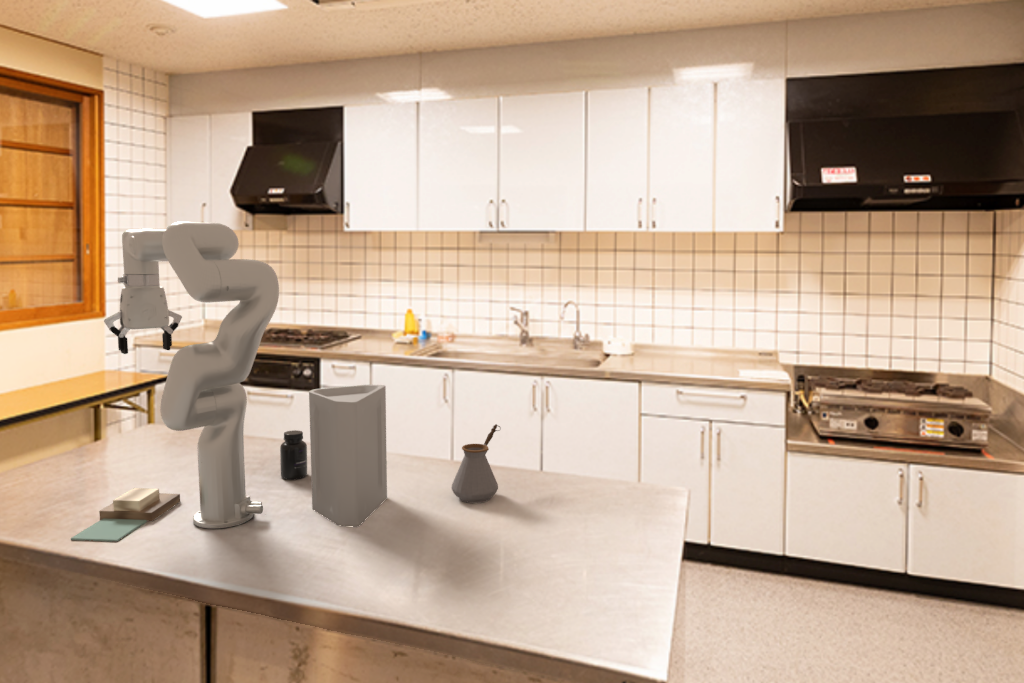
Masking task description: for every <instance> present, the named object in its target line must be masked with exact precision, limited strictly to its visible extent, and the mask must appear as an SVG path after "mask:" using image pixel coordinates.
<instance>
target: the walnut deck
mask: <svg viewBox="0 0 1024 683" xmlns="http://www.w3.org/2000/svg"><path fill="white" fill-rule="evenodd" d="M159 498H160V499H158V500H157V501H155V502H154V503H152V504H151V505H149V506H147V507H146V508H144V509H143V510H141V511H114V507H113V502H112V503H111V504H109V505H107V506H106V507H103V508H102V509H100V510H99V511H98V512H99V521H100V520H102V519H103V518H105V519H133V520H147V522H153V521H154V520H156V519H158V518H159V517H161V516H162V515H164V514H165V513H166V512H168V511H170V510H171V509H172V508H174V507H175V506H177V505H178V504H179V502H180V503H181V493H168V492H167V493H164V492H163V493H162V492H159ZM177 503H178V504H177ZM176 504H177V505H176ZM174 505H175V506H174ZM173 506H174V507H173ZM170 508H171V509H170ZM167 510H168V511H167Z"/></svg>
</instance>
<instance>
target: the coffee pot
mask: <svg viewBox="0 0 1024 683" xmlns="http://www.w3.org/2000/svg"><path fill="white" fill-rule="evenodd" d="M498 427H499V429H498V430H497V428H498ZM501 429H502V427H501V426H500V425H498V424H497V423H496V424H494V425H493V426H492V428H491V429H490V432H489V433H488V434H487V437H486V439H485V440H484V443H469V444H468V443H467V444H465V445H462V446H461V450H462V451H463V454H464V456H463V458H462V460H461V463H460V465H459V468H458V469H457V472H456V475H455V477H454V478H453V481H452V484H451V491H452V492H453V494H454V495H455V496H456V497H457V498H459V500H460V501H461V502H463V501H464V503H467V504H482V503H485V502H488V501H490V500H491V498H493V496H494V495H496V494H497V491H498V490H499V484H498V482H497V480H496V477H495V475H494V473H493V469H492V467H491V466H490V463H489V461H488V458H487V456H486V454H487V453H488V451H489V449H490V448H489V446H488V445H489V444H490V442H491V441H492V438H493V437H494V434H495V432H499V431H501Z"/></svg>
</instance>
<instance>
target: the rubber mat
mask: <svg viewBox="0 0 1024 683" xmlns="http://www.w3.org/2000/svg"><path fill="white" fill-rule="evenodd" d="M147 522H148V521H147V520H133V519H105V518H103V519H102V520H100V519H99V521H97V522H96V523H93V524H92V525H90V526H88V527H87V528H85V529H83V530H81V531H80V532H79V533H76V534H75V535H74V536H72V537H71V538H70V541H85V540H89V541H90V542H93V541H94V542H112V541H118V542H119V541H120V539H121V538H122V539H123V537H124V536H125V537H127V536H128V535H130V534H131V533H133V532H134V531H135V530H137V529H138V528H140V527H142V526H143V525H144V524H146V523H147ZM127 534H128V535H127ZM126 535H127V536H126ZM125 537H124V538H125ZM122 539H121V540H122ZM91 540H93V541H91ZM89 541H88V542H89Z"/></svg>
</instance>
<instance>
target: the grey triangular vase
mask: <svg viewBox="0 0 1024 683" xmlns="http://www.w3.org/2000/svg"><path fill="white" fill-rule="evenodd" d="M386 389H387V388H386V385H385V384H361V385H348V386H347V385H346V386H337V387H336V386H335V387H323V388H315V389H311V390H309V391H308V402H309V403H308V404H309V405H308V406H309V408H308V410H309V438H310V439H309V441H310V442H309V443H310V446H309V447H310V471H311V472H310V476H311V477H310V478H311V479H310V480H311V508H312V511H314V510H315V511H314V512H316V513H317V512H318V513H317V514H319V515H320V514H321V515H320V516H322V515H323V517H324V518H325V517H326V518H325V519H327V518H328V519H329V521H330V520H331V521H330V522H332V523H333V522H334V523H333V524H335V523H336V524H337V525H336V524H335V525H336V526H338V525H341V526H340V527H346V526H353V527H352V528H358V527H357V526H359V525H360V526H361V525H362V524H363V523H364V522H365V521H366V520H367V519H368V518H369V517H370V516H371V515H372V514H373V513H374V512H375V511H376V510H377V509H378V508H379V507H380V506H381V505H382V504H383V503H384V502H385V501H386V500H387V499H388V478H387V477H388V476H387V475H388V473H387V472H388V471H387V469H388V467H387V465H388V463H387V410H386V409H387V408H386V406H387V404H386V403H387V398H386V397H387V396H386V394H387V393H386V392H387V391H386ZM386 498H387V499H386ZM385 499H386V500H385ZM384 500H385V501H384ZM383 501H384V502H383ZM382 502H383V503H382ZM381 503H382V504H381ZM380 504H381V505H380ZM379 505H380V506H379ZM378 506H379V507H378ZM377 507H378V508H377ZM376 508H377V509H376ZM375 509H376V510H375ZM374 510H375V511H374ZM373 511H374V512H373ZM372 512H373V513H372ZM371 513H372V514H371ZM370 514H371V515H370ZM369 515H370V516H369ZM368 516H369V517H368ZM367 517H368V518H367ZM366 518H367V519H366ZM328 519H327V520H328ZM365 519H366V520H365ZM362 522H363V523H362ZM361 523H362V524H361ZM360 526H359V527H360Z"/></svg>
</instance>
